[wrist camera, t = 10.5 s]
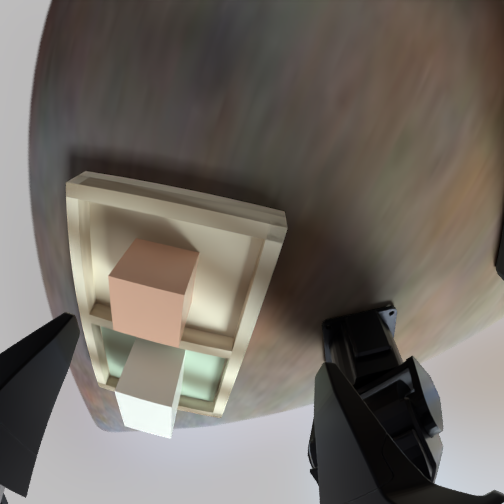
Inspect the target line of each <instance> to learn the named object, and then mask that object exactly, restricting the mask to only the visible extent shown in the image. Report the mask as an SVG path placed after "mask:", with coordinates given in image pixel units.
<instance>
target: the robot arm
mask: <svg viewBox="0 0 504 504" xmlns="http://www.w3.org/2000/svg"><path fill="white" fill-rule="evenodd" d="M391 311H392V312H391ZM396 316H397V310H396V308H395V307H394V306H388V307H384V308H380V309H375V310H371V311H367V312H362V313H358V314H353V315H348V316H343V317H339V318H334V319H329V320H325V321H324V322H323V323H322V330H323V339H324V348H325V358H326V362H324V363H323V364H322V366H321V368H320V369H319V371H318V373H317V374H316V377H315V394H314V419H313V425H312V430H311V435H310V440H309V445H308V457H309V461H310V464H311V466H312V469H310V473H311V474H312V476H313V477H314V479H315V480H316V481H317V483H318V486H319V495H320V504H502V503H503V502H504V494H503V493H501V492H499V491H496V490H493V491H491V492H489V493H487V494H486V495H484V496H475V495H471V494H467V493H463V492H459V491H455V490H452V489H448V488H445V487H442V486H439V485H436V484H434V483H435V479H436V475H437V472H438V468H439V464H440V460H441V456H442V450H443V445H442V442H441V439H440V436H439V433H440V432H442V431H443V420H442V411H441V403H440V397H439V395H438V392H437V390H436V388H435V386H434V384H433V381H432V379H431V377H430V376H429V374H428V373H427V372H426V371H425V370H424V368H423V367H422V366H421V365H420V364H419V362H418V361H417V360H416V359H415V358H414V357H413V355H412V356H411V357H409V358H408V359H406V361H405V362H404V363H403V361H402V358H401V355H400V353H399V350H398V348H397V345H396V343H395V341H394V332H395V324H396ZM327 325H330V326H327ZM79 335H80V329H79V326H78V322H77V319H76V316H75V315H74V314H71V313H67V312H65V313H63V314H61V315H60V316H58V317H56V318H55V319H53V320H52V321H50V322H48V323H47V324H45V325H44V326H42V327H41V328H39V329H37V330H36V331H34V332H33V333H31V334H30V335H28V336H26V337H25V338H23V339H22V340H20V341H19V342H17V343H16V344H14V345H13V346H11V347H10V348H8V349H7V350H5V351H4V352H2V353H1V354H0V504H8V502H7V500H6V497H5V495H4V493H3V492H4V489H5V487H6V488H8V489H9V490H11V491H13V492H15V493H17V494H19V495H22V496H24V497H25V498H26V496H27V492H28V488H29V484H30V480H31V476H32V472H33V468H34V465H35V461H36V458H37V454H38V450H39V447H40V444H41V441H42V438H43V435H44V432H45V429H46V426H47V423H48V420H49V417H50V415H51V412H52V409H53V407H54V404H55V401H56V399H57V396H58V394H59V391H60V389H61V386H62V383H63V381H64V379H65V376H66V374H67V372H68V369H69V366H70V363H71V360H72V357H73V353H74V350H75V347H76V344H77V341H78V338H79Z"/></svg>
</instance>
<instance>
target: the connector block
mask: <svg viewBox="0 0 504 504" xmlns="http://www.w3.org/2000/svg"><path fill="white" fill-rule="evenodd" d="M185 354H186V350H185V349H180V348H176V347H172V346H168V345H164V344H160V343H156V342H153V341H149V340H145V339H142V338H138V337H136V339H135V342H134V344H133V347H132V349H131V351H130V354H129V356H128V359H127V361H126V364H125V366H124V369H123V371H122V374H121V376H120V379H119V381H118V384H117V386H116V389H115V394H116V398H117V401H118V405H119V408H120V412H121V415H122V418H123V421H124V425H125V426H127V427H130V428H133V429H136V430H140V431H144V432H147V433H150V434H154V435H158V436H162V437H166V438H171V436H172V431H173V426H174V422H175V417H176V412H177V408H178V403H179V399H180V394H181V390H182V381H183V371H184V362H185Z"/></svg>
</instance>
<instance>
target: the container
mask: <svg viewBox="0 0 504 504" xmlns="http://www.w3.org/2000/svg"><path fill="white" fill-rule="evenodd" d="M496 271H497V274H498V275H499V276H500V277H501V278H502V279H503V280H504V226H503V233H502V239H501V244H500V249H499V254H498V259H497V263H496Z"/></svg>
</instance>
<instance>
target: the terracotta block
mask: <svg viewBox="0 0 504 504" xmlns="http://www.w3.org/2000/svg"><path fill="white" fill-rule="evenodd" d="M198 259H199V252H195V251H190V250H186V249H182V248H177V247H173V246H168V245H164V244H160V243H155V242H151V241H147V240H142V239H138V238H136V239H135V240H134V241H133V243H132V244H131V245H130V247H129V248H128V249H127V251H126V252H125V253H124V255H123V256H122V257H121V259H120V260H119V261H118V263H117V264H116V266H115V267H114V268H113V270H112V271H111V273H110V274H109V275H108V280H109V293H110V304H111V313H112V322H113V330H115V331H118V332H121V333H125V334H128V335H131V336H135V337H138V338H142V339H146V340H149V341H153V342H157V343H161V344H165V345H169V346H173V347H177V348H179V345H180V341H181V338H182V334H183V331H184V327H185V324H186V320H187V317H188V314H189V310H190V307H191V304H192V297H193V290H194V284H195V277H196V271H197V265H198Z"/></svg>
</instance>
